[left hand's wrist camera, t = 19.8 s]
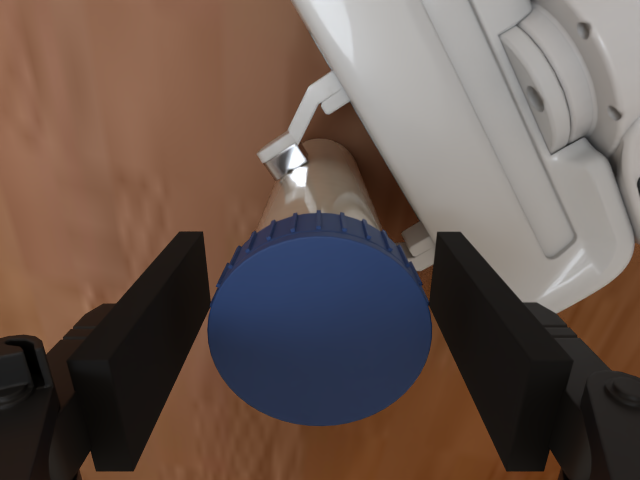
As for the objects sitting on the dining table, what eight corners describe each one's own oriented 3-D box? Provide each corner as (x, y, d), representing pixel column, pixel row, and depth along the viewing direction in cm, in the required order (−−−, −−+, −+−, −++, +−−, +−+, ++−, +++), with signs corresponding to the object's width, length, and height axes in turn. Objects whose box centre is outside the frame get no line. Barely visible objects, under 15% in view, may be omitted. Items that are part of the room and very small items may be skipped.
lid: (455, 251, 11) (478, 282, 10) (370, 405, 13) (378, 452, 12) (255, 177, 11) (244, 196, 9) (197, 351, 13) (178, 393, 11)
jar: (264, 183, 26) (191, 335, 11) (313, 121, 25) (304, 197, 10) (325, 229, 27) (332, 423, 12) (375, 172, 26) (451, 311, 11)
